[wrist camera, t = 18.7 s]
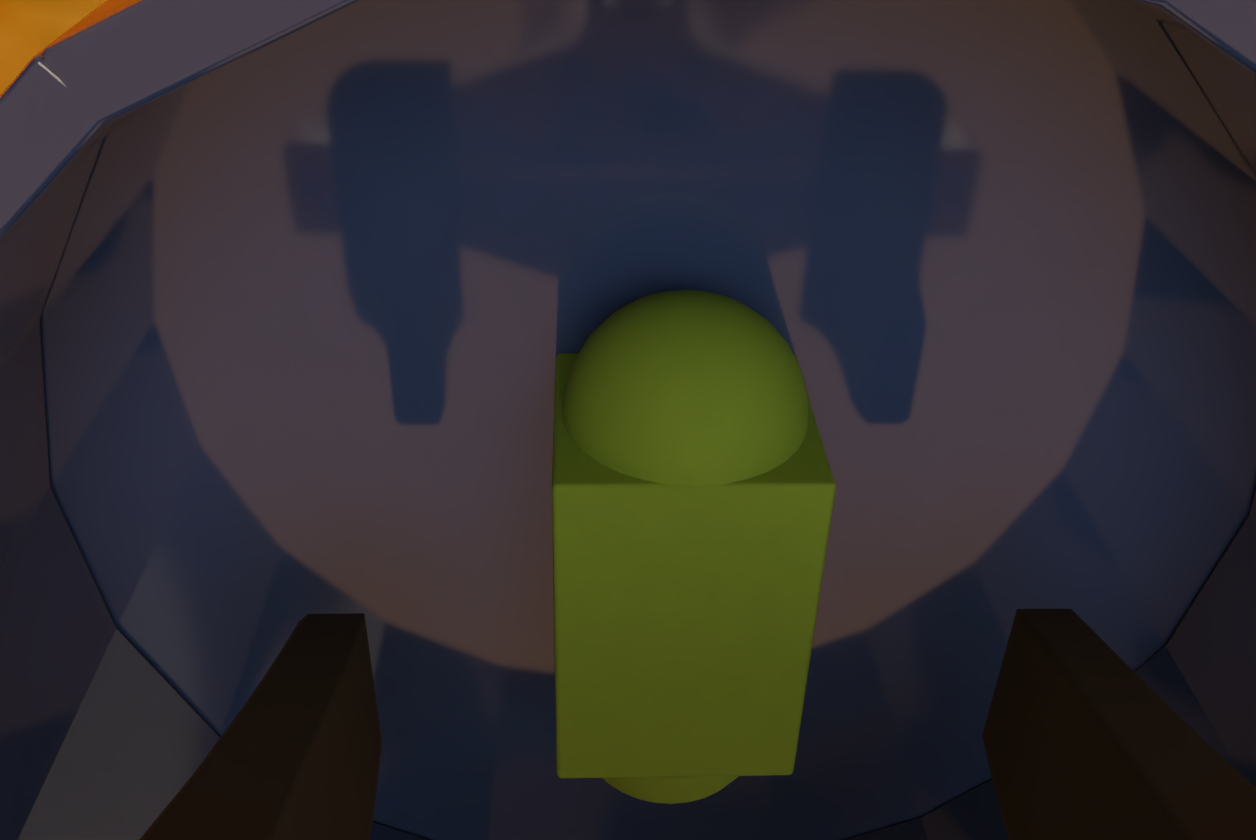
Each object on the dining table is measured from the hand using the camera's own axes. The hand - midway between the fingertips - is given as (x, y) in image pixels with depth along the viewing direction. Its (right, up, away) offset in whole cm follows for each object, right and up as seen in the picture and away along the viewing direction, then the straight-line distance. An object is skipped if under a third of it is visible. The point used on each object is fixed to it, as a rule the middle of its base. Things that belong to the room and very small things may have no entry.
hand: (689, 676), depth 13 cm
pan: (0, +2, +3) cm, 4 cm away
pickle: (0, +2, +3) cm, 3 cm away
